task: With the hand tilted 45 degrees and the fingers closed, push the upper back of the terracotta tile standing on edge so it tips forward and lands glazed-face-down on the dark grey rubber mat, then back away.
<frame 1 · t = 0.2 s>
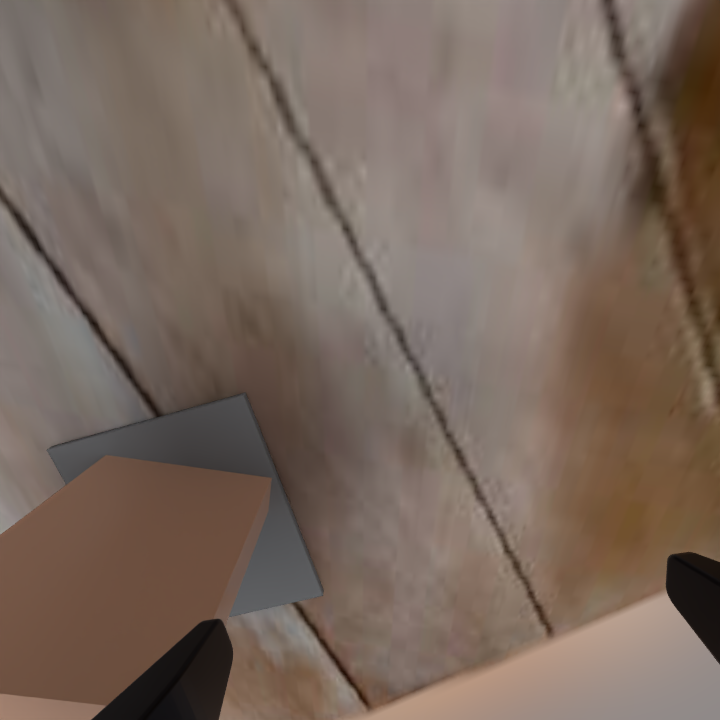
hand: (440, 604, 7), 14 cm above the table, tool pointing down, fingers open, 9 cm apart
tile: (188, 483, 22), resting on mat
mat: (195, 522, 24), on the table
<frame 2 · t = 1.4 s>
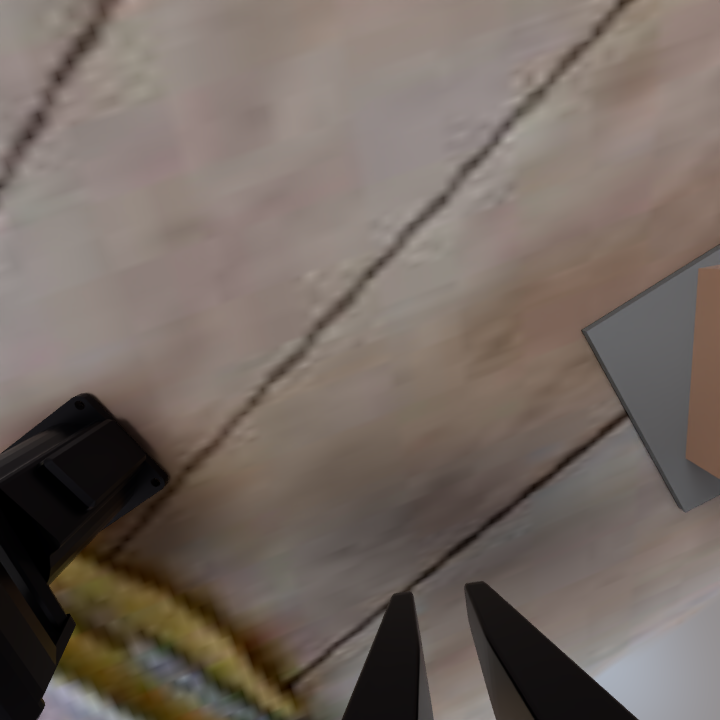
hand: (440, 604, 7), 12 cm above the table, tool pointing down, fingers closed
tile: (716, 366, 18), resting on mat
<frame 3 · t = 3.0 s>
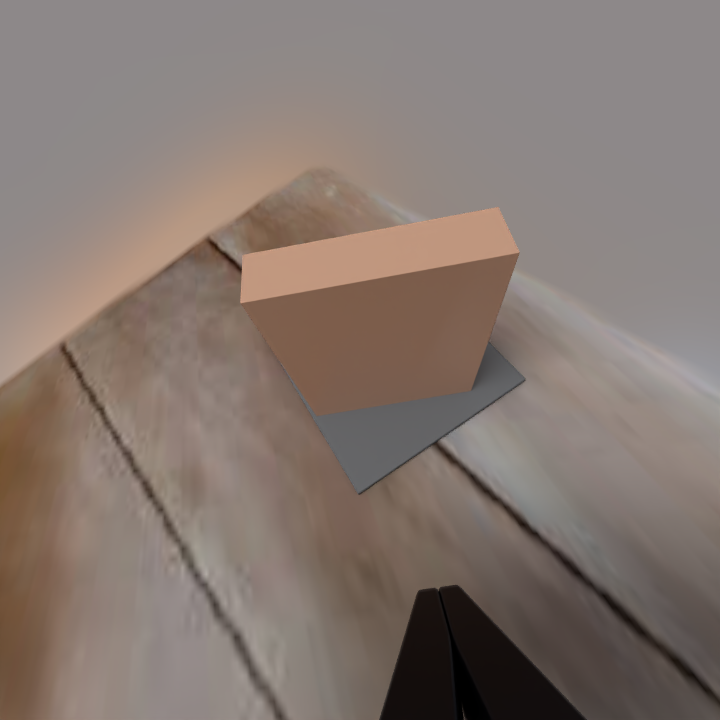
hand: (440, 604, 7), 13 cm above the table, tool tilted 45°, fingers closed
tile: (389, 386, 24), resting on mat
mat: (377, 350, 26), on the table
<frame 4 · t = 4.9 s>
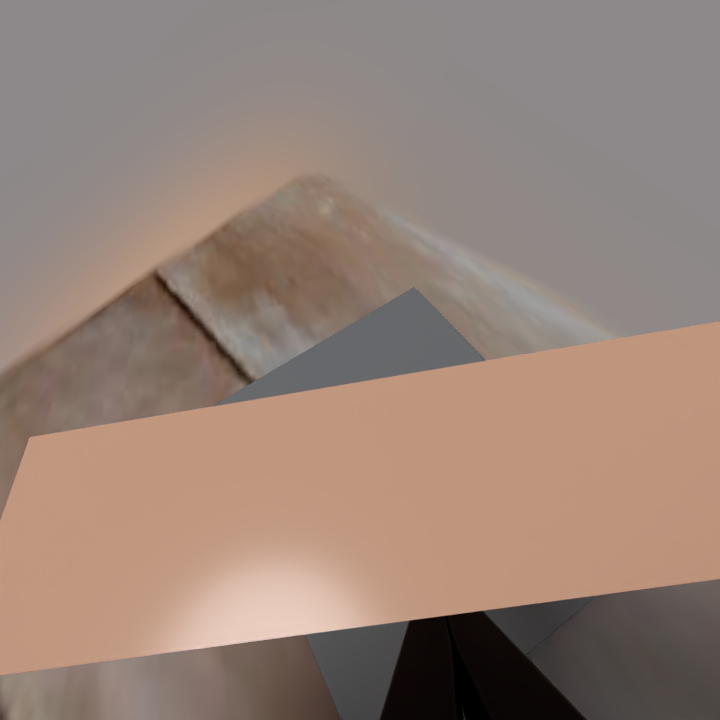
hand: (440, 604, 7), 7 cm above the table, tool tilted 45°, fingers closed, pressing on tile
tile: (421, 543, 14), resting on mat, touching gripper
mat: (398, 465, 16), on the table
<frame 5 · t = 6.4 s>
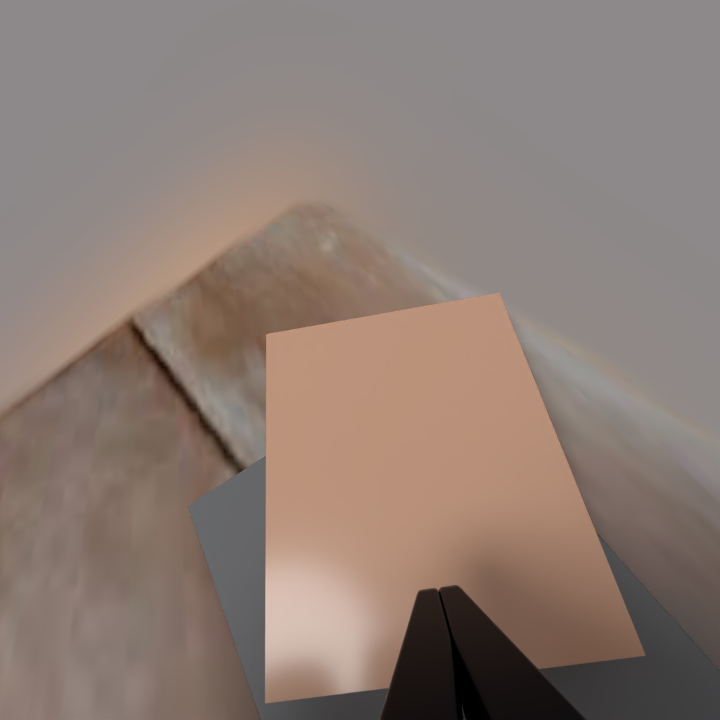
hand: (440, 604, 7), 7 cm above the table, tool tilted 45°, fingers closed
tile: (446, 668, 11), point 2 cm above the table, tilted 90°, touching mat
mat: (420, 593, 13), on the table
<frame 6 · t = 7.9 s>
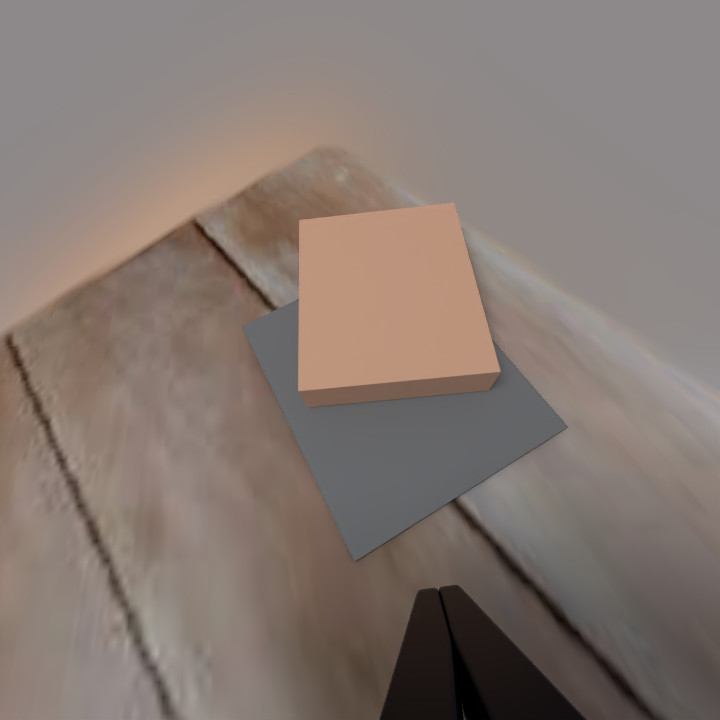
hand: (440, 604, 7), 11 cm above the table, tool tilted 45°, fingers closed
tile: (398, 390, 19), point 2 cm above the table, tilted 90°, touching mat
mat: (387, 374, 21), on the table
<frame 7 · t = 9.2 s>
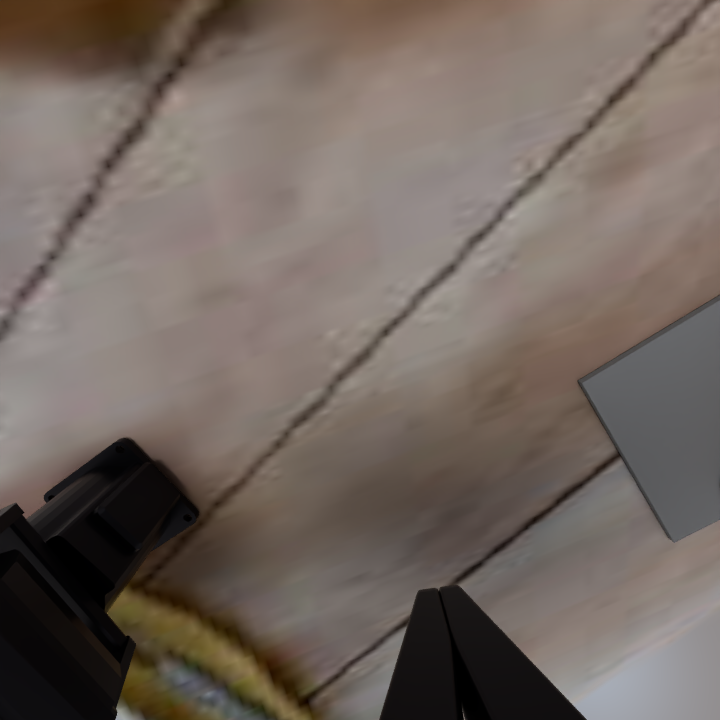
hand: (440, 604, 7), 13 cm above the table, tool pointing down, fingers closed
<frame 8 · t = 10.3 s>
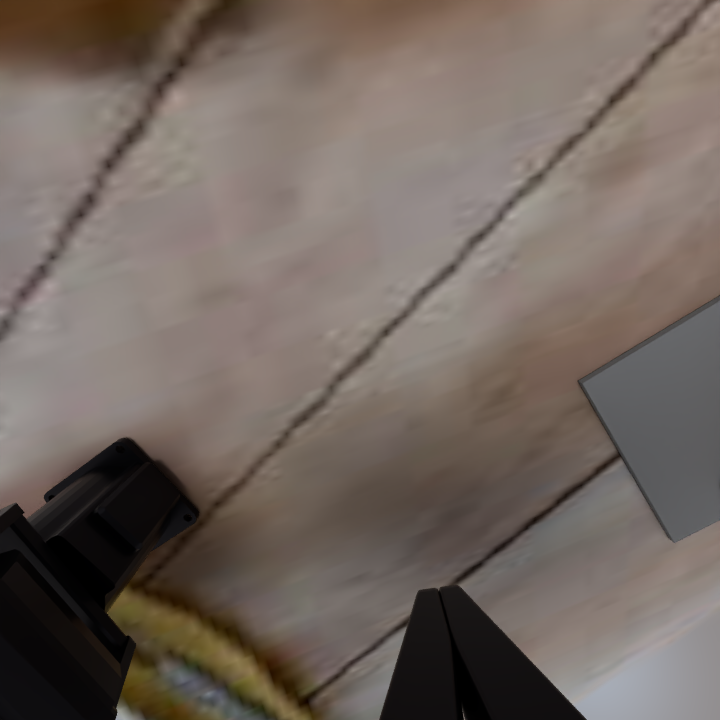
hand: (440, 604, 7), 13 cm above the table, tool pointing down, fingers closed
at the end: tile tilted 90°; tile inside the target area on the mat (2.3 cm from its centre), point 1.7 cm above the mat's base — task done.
